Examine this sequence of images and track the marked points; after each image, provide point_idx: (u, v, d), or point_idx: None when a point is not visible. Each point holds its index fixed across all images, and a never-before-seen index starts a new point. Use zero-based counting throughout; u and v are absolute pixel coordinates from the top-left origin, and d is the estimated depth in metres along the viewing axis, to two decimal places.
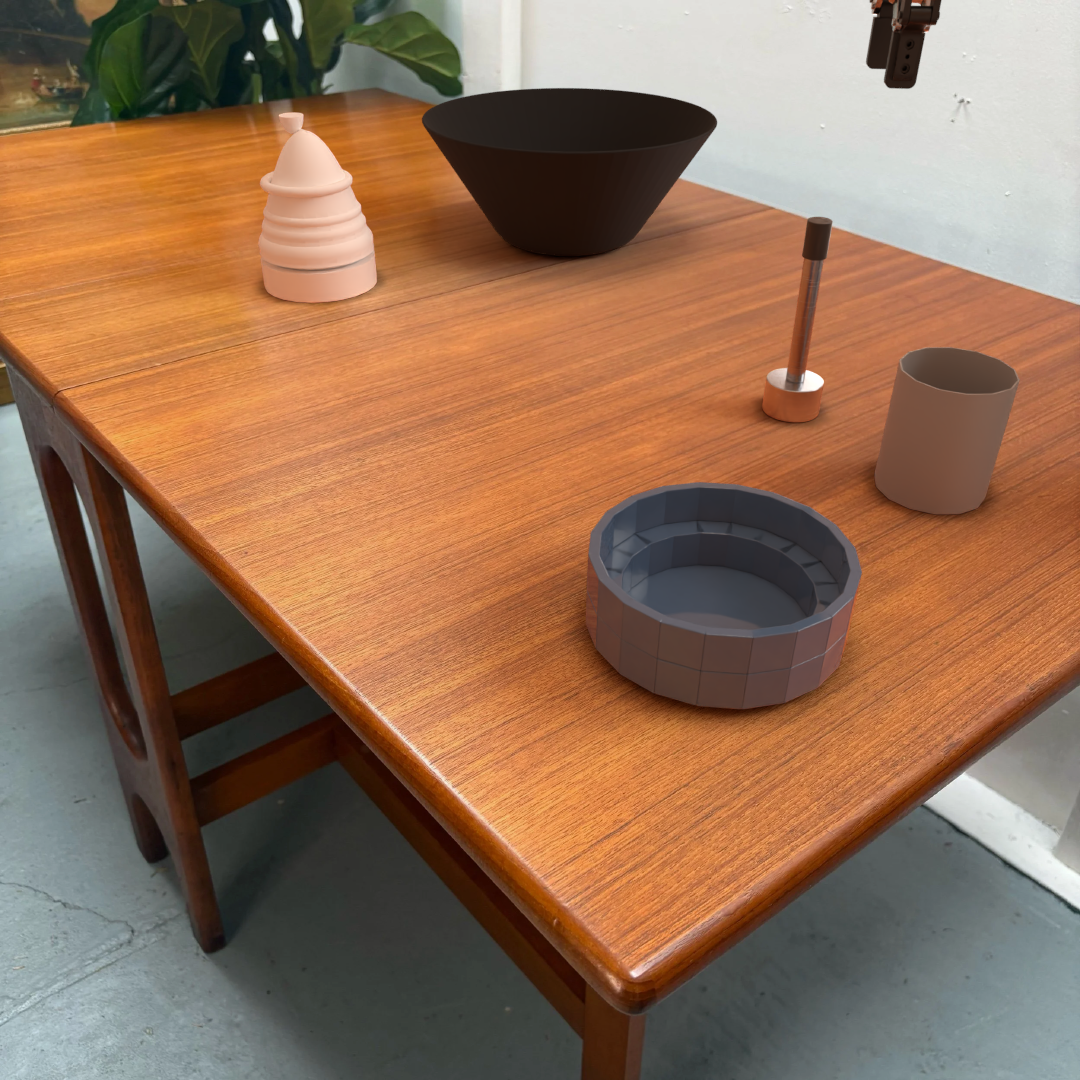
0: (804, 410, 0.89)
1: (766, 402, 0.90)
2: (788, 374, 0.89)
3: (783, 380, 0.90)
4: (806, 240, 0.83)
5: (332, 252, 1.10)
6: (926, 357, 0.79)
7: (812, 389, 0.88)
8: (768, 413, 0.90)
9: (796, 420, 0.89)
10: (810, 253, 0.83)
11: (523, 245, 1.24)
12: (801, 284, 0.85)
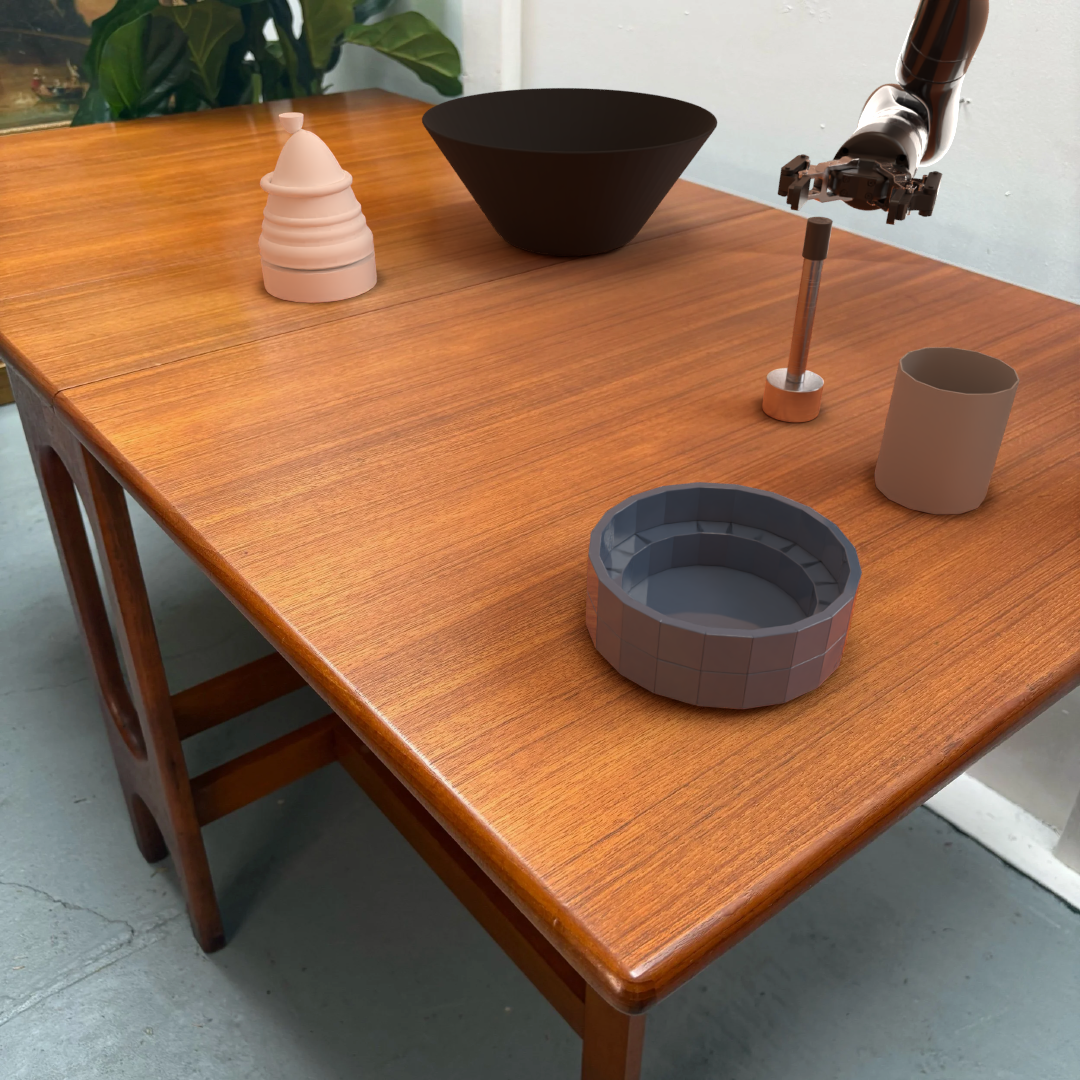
0: (804, 410, 0.89)
1: (766, 402, 0.90)
2: (788, 374, 0.89)
3: (783, 380, 0.90)
4: (806, 240, 0.83)
5: (332, 252, 1.10)
6: (926, 357, 0.79)
7: (812, 389, 0.88)
8: (768, 413, 0.90)
9: (796, 420, 0.89)
10: (810, 253, 0.83)
11: (523, 245, 1.24)
12: (801, 284, 0.85)
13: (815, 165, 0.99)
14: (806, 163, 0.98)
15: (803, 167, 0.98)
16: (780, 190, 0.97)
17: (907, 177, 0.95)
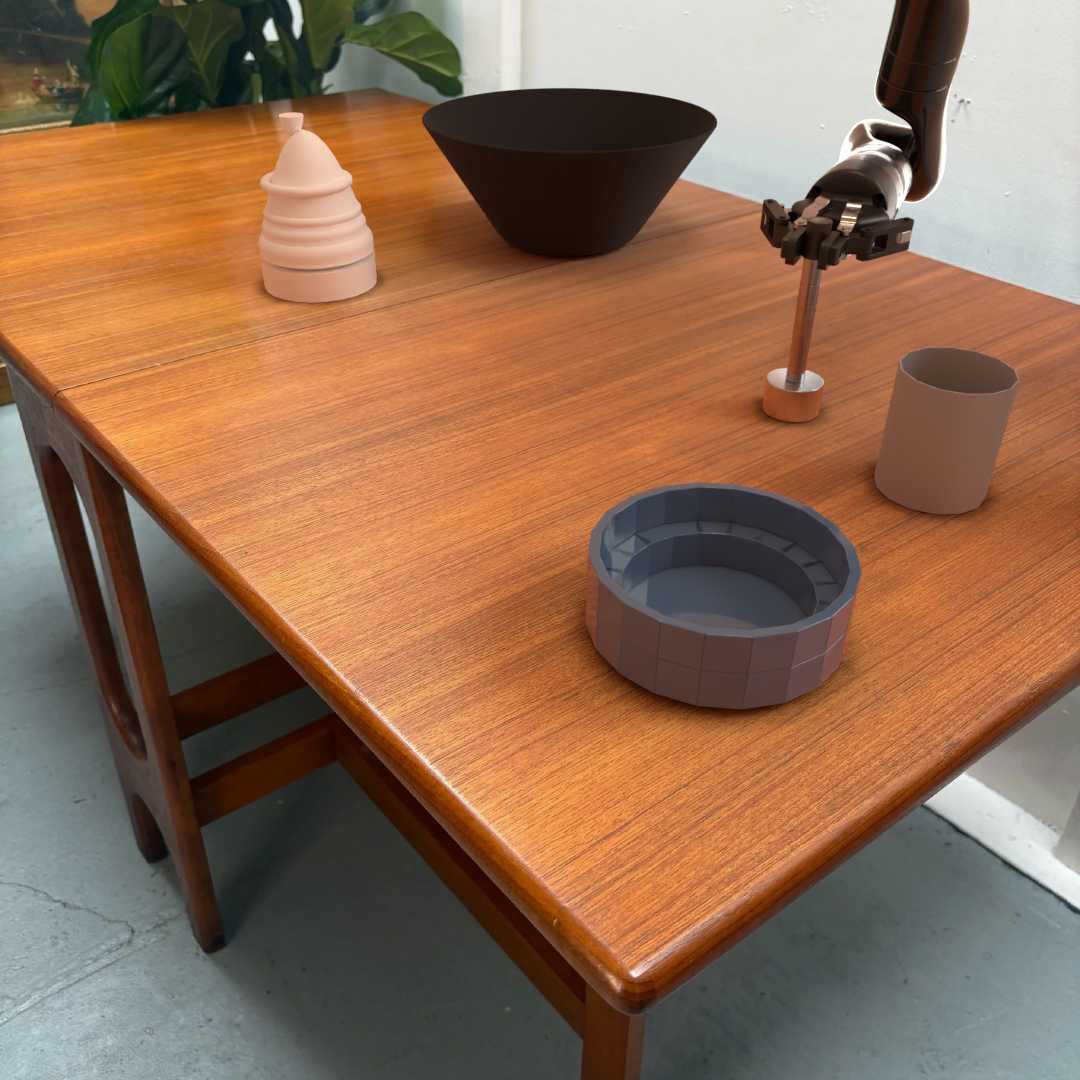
0: (804, 410, 0.89)
1: (766, 402, 0.90)
2: (788, 374, 0.89)
3: (783, 380, 0.90)
4: (806, 240, 0.83)
5: (331, 252, 1.10)
6: (926, 357, 0.79)
7: (812, 389, 0.88)
8: (768, 413, 0.90)
9: (796, 420, 0.89)
10: (810, 253, 0.83)
11: (523, 245, 1.24)
12: (801, 284, 0.85)
13: None
14: (781, 208, 0.88)
15: None
16: (777, 242, 0.86)
17: None
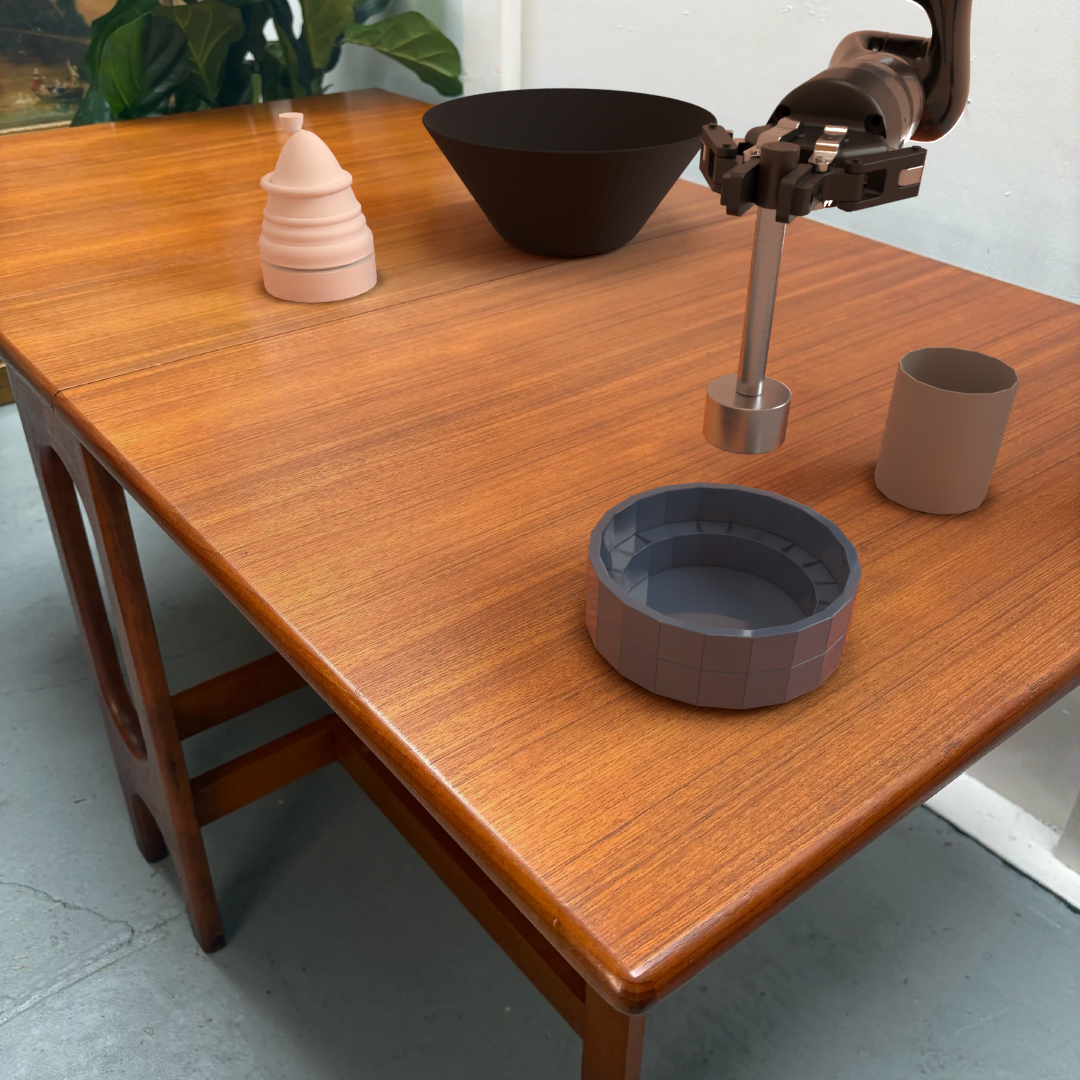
0: (762, 437, 0.60)
1: (707, 424, 0.61)
2: (738, 383, 0.60)
3: (731, 391, 0.61)
4: (760, 178, 0.53)
5: (331, 252, 1.10)
6: (926, 357, 0.79)
7: (773, 406, 0.59)
8: (710, 441, 0.61)
9: (750, 451, 0.60)
10: (766, 198, 0.54)
11: (523, 245, 1.24)
12: (754, 247, 0.56)
13: None
14: None
15: None
16: (720, 184, 0.57)
17: None
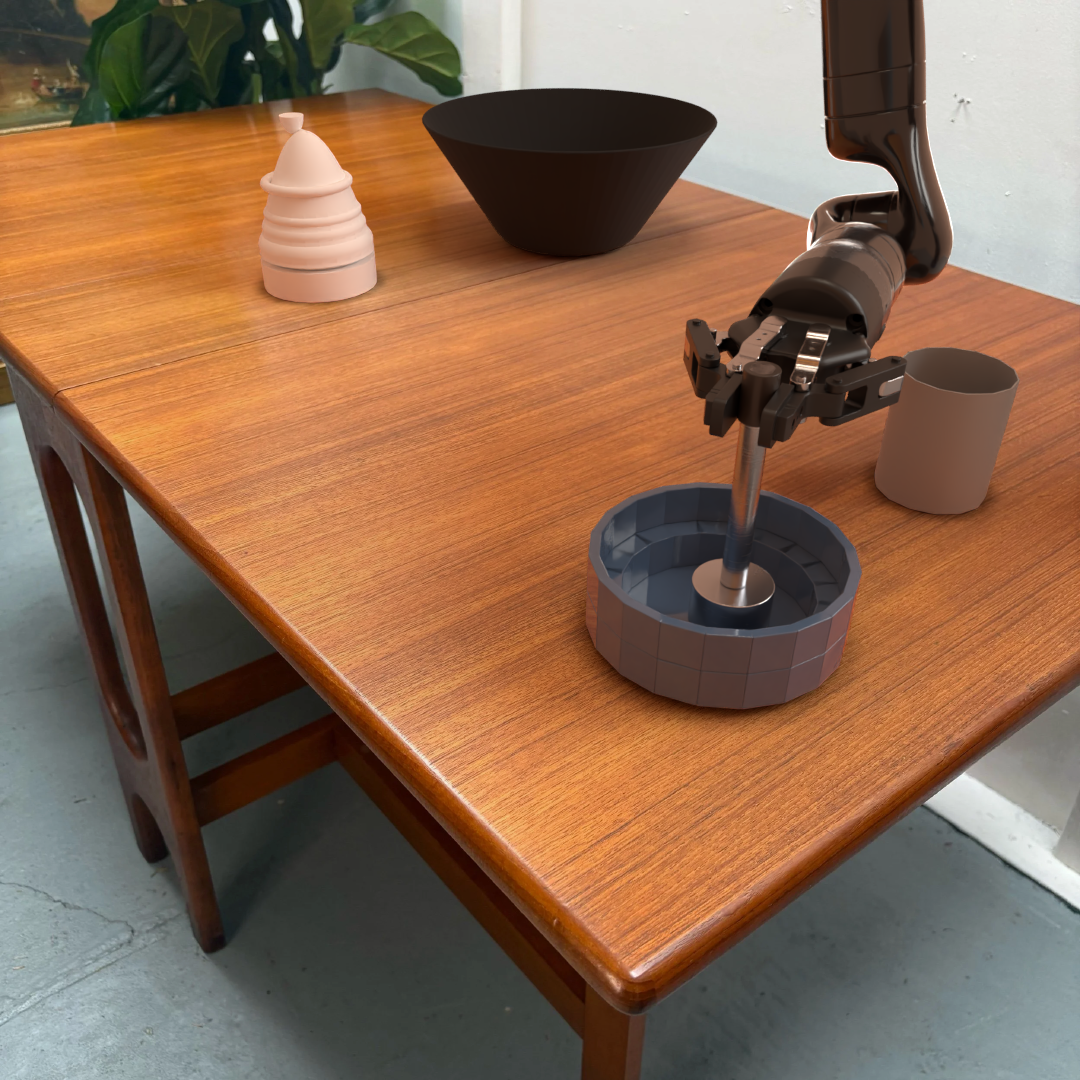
0: None
1: (692, 613, 0.62)
2: (723, 576, 0.61)
3: (715, 583, 0.61)
4: (742, 397, 0.54)
5: (332, 252, 1.10)
6: (926, 357, 0.79)
7: (756, 602, 0.60)
8: None
9: None
10: (748, 417, 0.54)
11: (523, 245, 1.24)
12: (737, 457, 0.56)
13: None
14: (712, 334, 0.60)
15: None
16: (703, 391, 0.58)
17: None
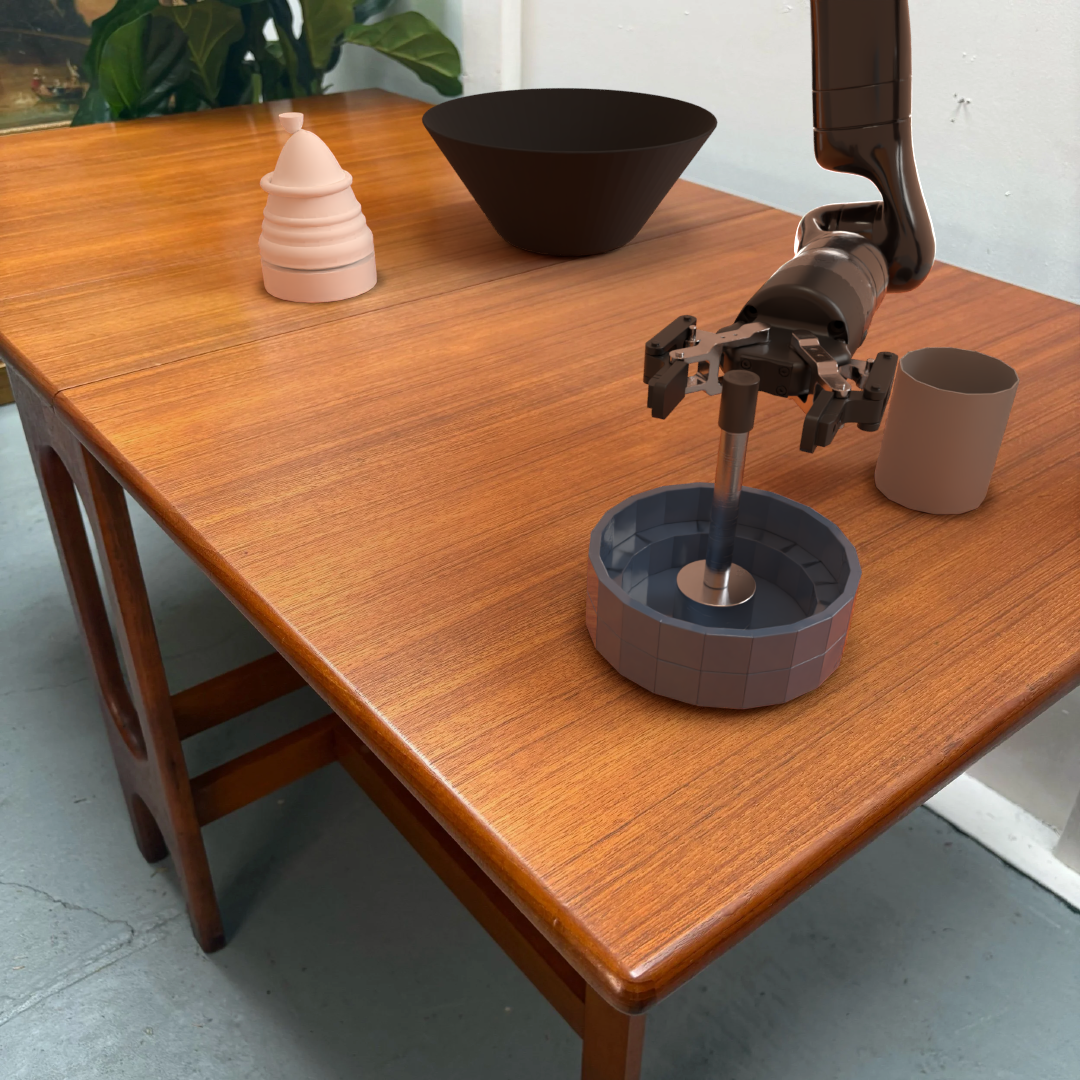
0: None
1: (676, 612, 0.64)
2: (706, 576, 0.63)
3: (699, 583, 0.64)
4: (722, 405, 0.57)
5: (331, 252, 1.10)
6: (926, 357, 0.79)
7: (738, 602, 0.62)
8: None
9: None
10: (728, 423, 0.57)
11: (523, 245, 1.24)
12: (718, 462, 0.59)
13: (706, 331, 0.65)
14: (690, 331, 0.63)
15: (685, 337, 0.63)
16: (646, 376, 0.62)
17: (843, 360, 0.60)
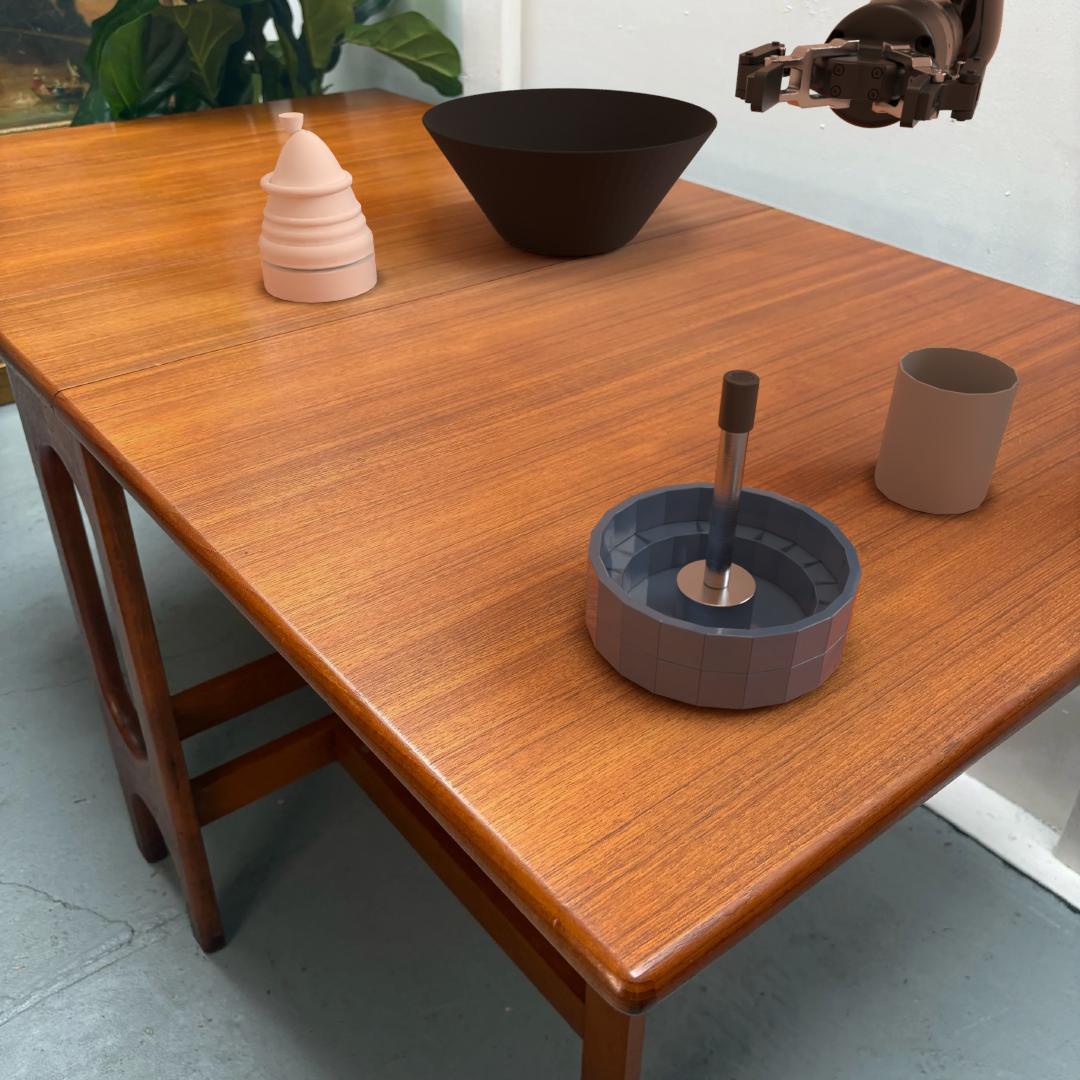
0: None
1: (676, 612, 0.64)
2: (706, 576, 0.63)
3: (699, 583, 0.64)
4: (722, 405, 0.57)
5: (331, 252, 1.10)
6: (926, 357, 0.79)
7: (738, 602, 0.62)
8: None
9: None
10: (728, 423, 0.57)
11: (523, 245, 1.24)
12: (718, 462, 0.59)
13: None
14: (779, 52, 0.65)
15: None
16: (738, 89, 0.64)
17: (933, 66, 0.62)
